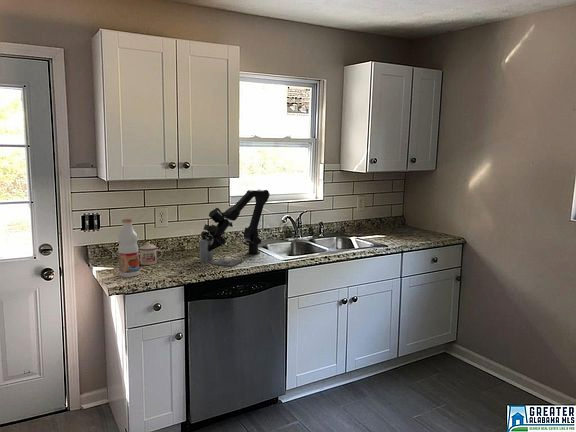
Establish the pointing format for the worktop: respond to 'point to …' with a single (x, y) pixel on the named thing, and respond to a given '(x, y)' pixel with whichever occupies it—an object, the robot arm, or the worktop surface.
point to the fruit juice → (128, 250)
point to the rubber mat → (227, 262)
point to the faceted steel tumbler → (205, 250)
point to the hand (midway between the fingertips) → (204, 249)
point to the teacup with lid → (149, 254)
